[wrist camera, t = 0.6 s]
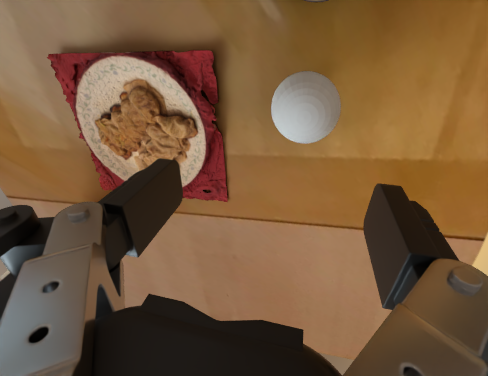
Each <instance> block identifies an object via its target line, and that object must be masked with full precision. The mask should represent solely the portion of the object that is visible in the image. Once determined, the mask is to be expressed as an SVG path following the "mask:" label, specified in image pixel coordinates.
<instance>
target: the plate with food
mask: <svg viewBox="0 0 488 376" xmlns="http://www.w3.org/2000/svg"><path fill="white" fill-rule="evenodd" d="M48 56H49V57H47V58H48V59H50V60H51V67H52V68H53V69H54V70H55V72H56V73H55V76H56V78H57V79H58V81H59V82H60V83H61V87H62V89H63V94H64V95H66V96H67V99H66V101H67V102H68V103H70V107H71V109H72V111H73V113H74V116H75V121H77V125H78V128H79V129H80V131H82V132H81V133H80V136H79V138H82V139H84V141H86V143H87V146H89V148H90V150H91V152H93V153H91V156H92V158H93V160H92V161H94V163H95V166H96V172H98V173H101V176H100V178H99V181H100V184H101V187H102V189H104V190H111V189H112V191H113V190H114V189H115V188H117V187H118V186H121V184H122V183H123V182H124V181H126V180H128V178H129V177H131V176H132V175H133V174H135V173H136V172H138V171H141V170H143V169H145V168H147V167H148V166H150V165H151V164H152V163H153V162H154V161H156V160H157V159H159V158H162V159H171V160H176V161H177V162H178V163H179V167H180V174H181V181H182V188H183V198H187V199H193V198H197V199H202V200H218V201H224V202H228V201H227V197H228V196H227V187H226V174H225V162H224V152H223V140H222V135H221V133H220V132H219V131H218V129H217V127H216V125H215V124H212V120H214V121H216V117H215V116H214V115H213V114H215V108H214V107H213V106H212V105H210V103H208V101H206V99H205V98H203V97H202V95H201V92H200V91H201V90H203V91H204V92H205V93H206V95H207V96H208V99H209V102H211V103H212V104H216V103H218V94H217V84H216V82H217V81H216V77H215V75H214V72H213V68H212V64H213V61H214V57H213V52H211V51H209V50H199V51H196V50H191V51H187V52H182V53H176V52H174V51H152V52H126V53H115V52H103V53H63V54H49V55H48ZM208 189H209V190H210V191H211V193H205V192H203V190H208Z"/></svg>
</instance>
